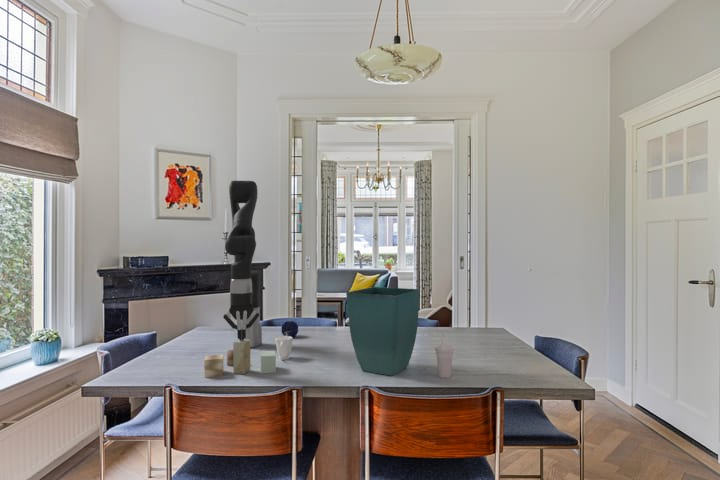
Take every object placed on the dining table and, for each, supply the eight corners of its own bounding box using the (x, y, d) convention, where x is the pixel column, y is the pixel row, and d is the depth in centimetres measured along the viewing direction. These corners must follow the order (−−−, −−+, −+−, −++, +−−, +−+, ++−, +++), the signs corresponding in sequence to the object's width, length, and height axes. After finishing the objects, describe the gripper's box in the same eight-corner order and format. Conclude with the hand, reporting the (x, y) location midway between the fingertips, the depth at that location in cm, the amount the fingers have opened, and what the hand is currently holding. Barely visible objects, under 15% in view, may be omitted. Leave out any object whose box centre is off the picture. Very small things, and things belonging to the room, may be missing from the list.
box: (244, 374, 151) (243, 342, 151) (232, 373, 152) (232, 342, 152) (251, 369, 156) (250, 339, 156) (240, 369, 157) (239, 338, 157)
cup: (294, 355, 175) (294, 335, 175) (289, 362, 165) (289, 341, 165) (277, 355, 175) (277, 335, 175) (271, 362, 165) (271, 341, 165)
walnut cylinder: (236, 361, 167) (236, 348, 167) (243, 364, 164) (243, 351, 164) (224, 364, 164) (224, 351, 164) (231, 367, 160) (231, 353, 160)
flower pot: (396, 381, 141) (395, 295, 141) (345, 372, 151) (345, 292, 151) (421, 366, 158) (420, 289, 158) (374, 359, 168) (373, 286, 168)
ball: (296, 338, 206) (296, 322, 206) (280, 339, 207) (280, 323, 207) (299, 335, 214) (298, 319, 214) (283, 335, 215) (283, 320, 215)
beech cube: (223, 371, 155) (223, 354, 155) (222, 375, 150) (222, 358, 150) (205, 372, 154) (205, 355, 154) (204, 377, 148) (204, 360, 148)
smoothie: (433, 373, 149) (432, 332, 149) (451, 372, 150) (450, 332, 150) (438, 379, 143) (437, 336, 143) (456, 378, 143) (456, 336, 143)
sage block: (274, 367, 160) (274, 350, 160) (275, 372, 153) (275, 355, 153) (260, 368, 158) (260, 351, 158) (261, 373, 152) (261, 356, 152)
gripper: (221, 293, 149) (221, 343, 149) (260, 291, 152) (261, 340, 152) (222, 291, 156) (222, 339, 156) (259, 289, 159) (260, 336, 159)
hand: (241, 339), depth 154 cm, fingers closed
